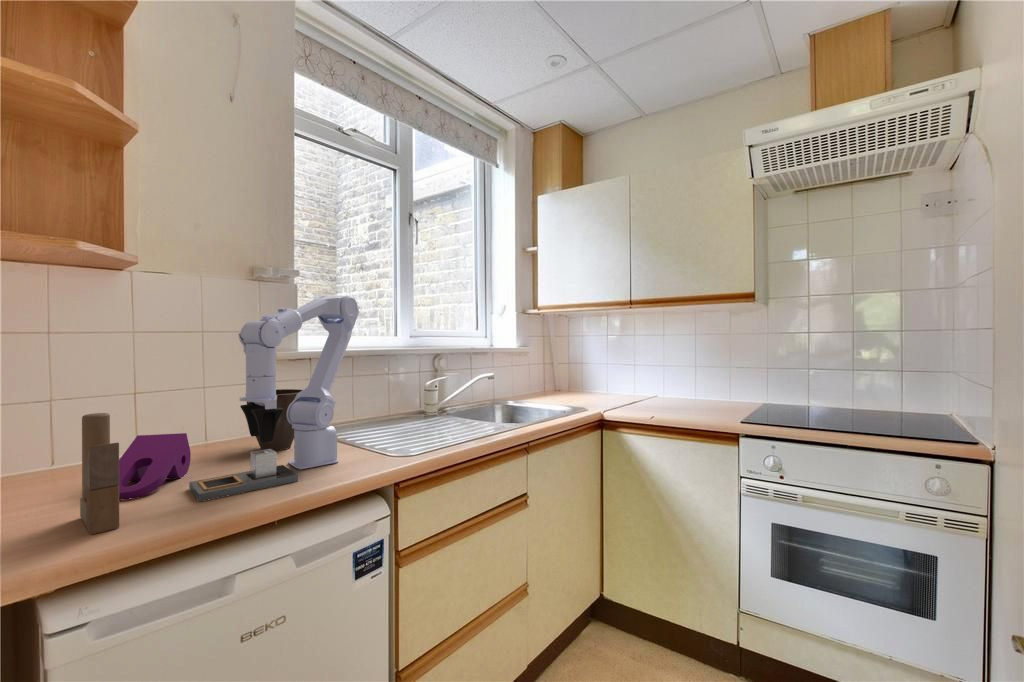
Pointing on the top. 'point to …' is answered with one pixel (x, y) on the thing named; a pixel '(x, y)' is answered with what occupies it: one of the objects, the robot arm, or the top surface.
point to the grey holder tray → (239, 483)
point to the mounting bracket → (152, 463)
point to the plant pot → (281, 422)
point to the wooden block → (99, 475)
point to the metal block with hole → (263, 464)
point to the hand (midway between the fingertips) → (261, 438)
